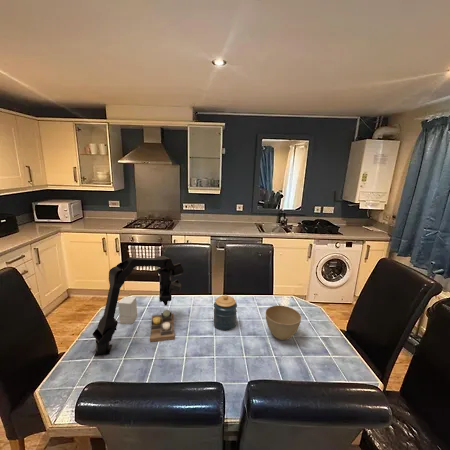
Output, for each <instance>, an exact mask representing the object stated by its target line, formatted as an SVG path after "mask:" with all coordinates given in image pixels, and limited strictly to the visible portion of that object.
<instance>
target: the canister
mask: <svg viewBox="0 0 450 450" xmlns="http://www.w3.org/2000/svg"><path fill="white" fill-rule="evenodd" d="M237 307H238V304H237V301H236V299H235V298H234V297H232V296H230V295H227V294H224V295H221V296H218V297H216V298H215V301H214V303H213V326H214V327H215V328H216V329H218V330H220V331H231V330H233V329H234V328H235V327H236V325H237V312H238V311H237Z"/></svg>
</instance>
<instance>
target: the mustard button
mask: <svg viewBox="0 0 450 450" xmlns="http://www.w3.org/2000/svg"><path fill="white" fill-rule="evenodd" d="M160 323H161V322H160V317H154V318H153V324H154V325H159V324H160Z"/></svg>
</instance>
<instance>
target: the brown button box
mask: <svg viewBox="0 0 450 450" xmlns="http://www.w3.org/2000/svg"><path fill="white" fill-rule="evenodd" d="M174 315H175V314H174V313H173V312H172V311H170V316H169V317H167V318H164V317H163V312H160V314H155V315H154V314H153V315H152V316H151V320H150V336H149V343H155V342H164V341H171V340H175V339H176V338H175V316H174ZM154 317H160V322H161V323H160V324H159V325H154V324H153V318H154ZM165 322H169V323H170V329H169V330H168V331H164V330H163V323H165Z"/></svg>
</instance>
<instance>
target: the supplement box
mask: <svg viewBox="0 0 450 450" xmlns="http://www.w3.org/2000/svg"><path fill="white" fill-rule="evenodd" d="M137 305H138V304H137V297H136V296H124V297H122V298H121V300H119V302H117V306H118V314H119V315H118V316H119V318H118V319H119V324H127V325H133V324H134V323H135V321H136V320H137V318H138V307H137Z"/></svg>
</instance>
